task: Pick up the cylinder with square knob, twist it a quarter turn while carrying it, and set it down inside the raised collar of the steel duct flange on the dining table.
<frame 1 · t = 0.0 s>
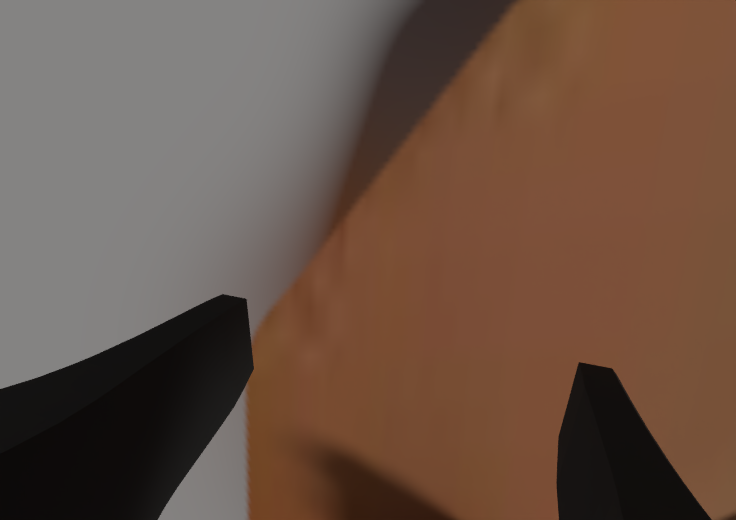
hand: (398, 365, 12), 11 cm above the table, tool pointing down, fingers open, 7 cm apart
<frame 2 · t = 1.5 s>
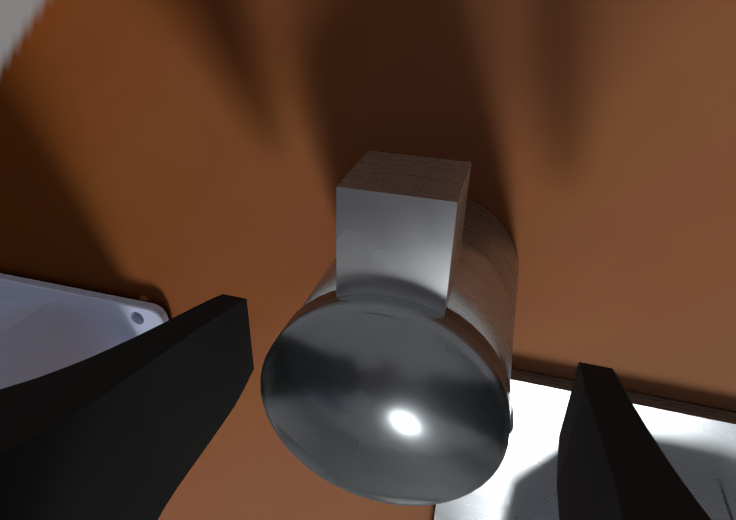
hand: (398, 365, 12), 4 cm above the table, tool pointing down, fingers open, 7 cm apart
cylinder with square knob: (431, 267, 16), on the table
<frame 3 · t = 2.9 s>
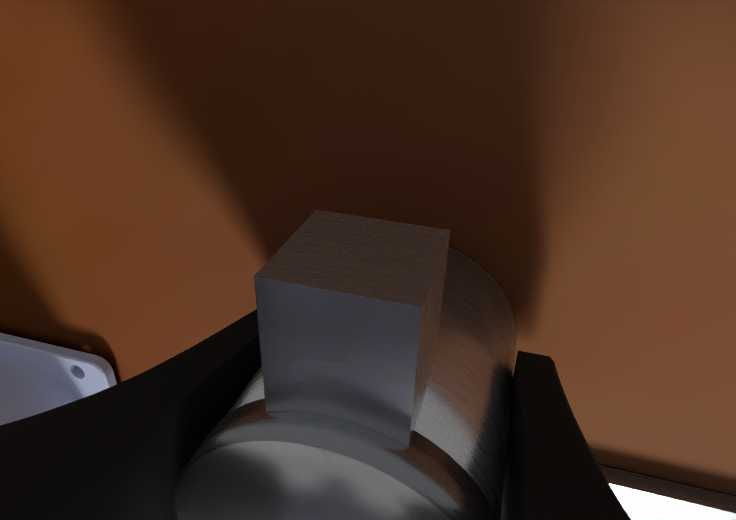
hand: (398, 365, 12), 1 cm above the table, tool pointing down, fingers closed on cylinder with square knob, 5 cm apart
cylinder with square knob: (412, 327, 13), on the table, touching gripper
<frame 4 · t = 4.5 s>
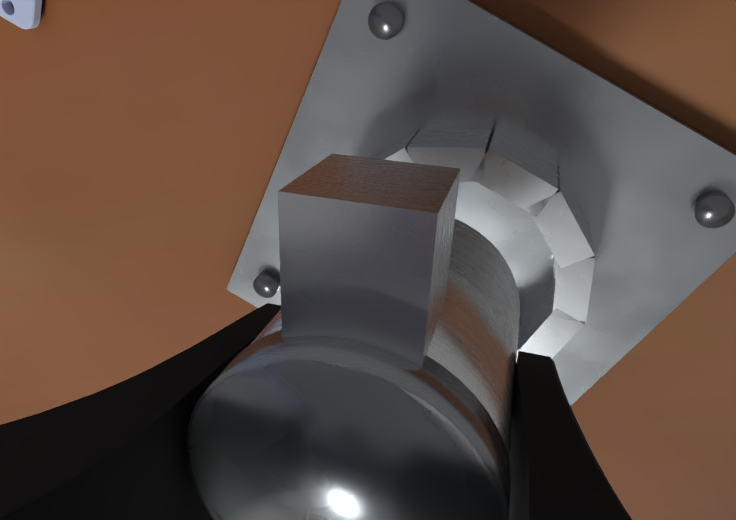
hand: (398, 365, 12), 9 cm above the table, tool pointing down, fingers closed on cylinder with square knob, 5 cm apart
duct flange: (457, 244, 19), on the table
cylinder with square knob: (417, 303, 13), point 7 cm above the table, touching gripper
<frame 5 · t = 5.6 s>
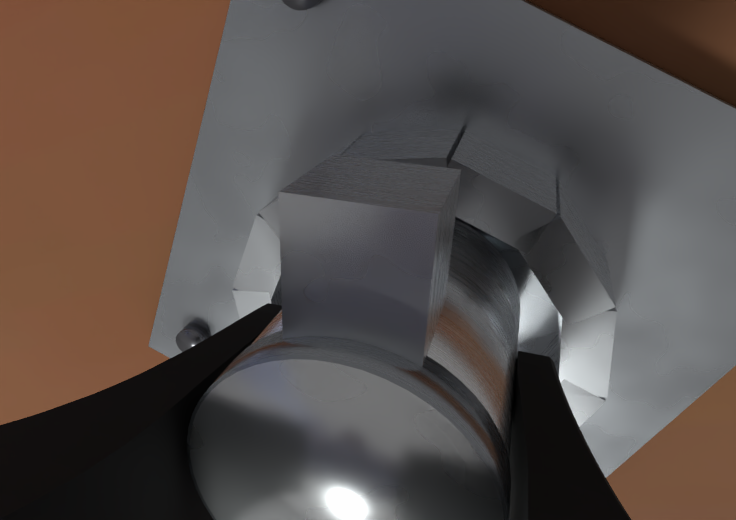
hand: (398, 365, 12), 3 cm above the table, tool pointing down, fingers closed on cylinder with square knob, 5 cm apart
duct flange: (428, 285, 15), on the table
cylinder with square knob: (417, 304, 13), point 1 cm above the table, touching gripper
when the fingers open (3 cm above the table, at t = 6.4 s): cylinder with square knob stays where it is, resting on duct flange.
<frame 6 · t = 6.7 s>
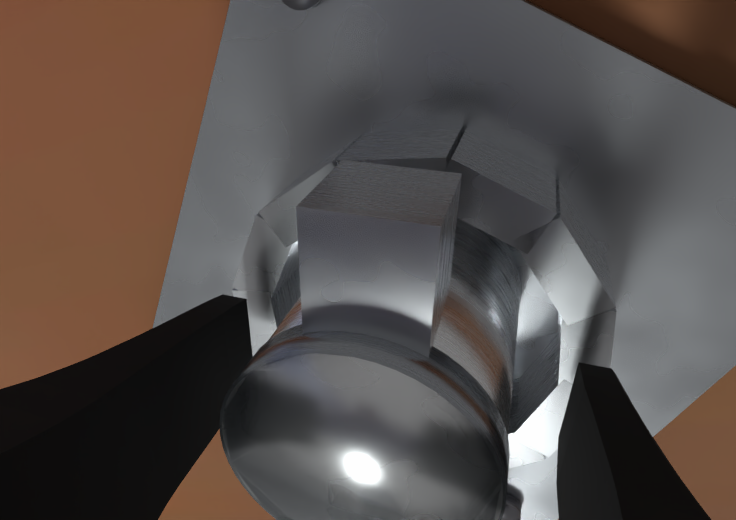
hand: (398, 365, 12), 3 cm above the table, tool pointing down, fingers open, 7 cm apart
duct flange: (428, 285, 15), on the table
cylinder with square knob: (424, 284, 14), point 1 cm above the table, touching duct flange
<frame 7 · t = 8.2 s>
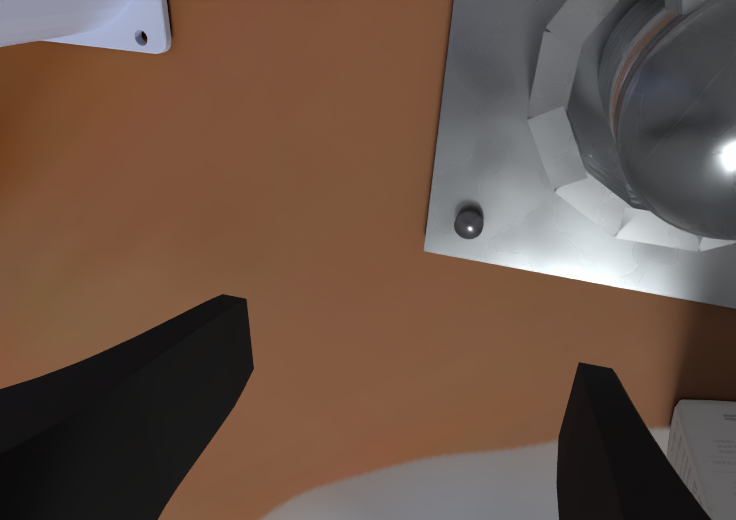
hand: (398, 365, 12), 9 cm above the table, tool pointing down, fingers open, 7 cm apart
skincare box: (729, 455, 22), on the table
duct flange: (688, 76, 16), on the table
cylinder with square knob: (690, 68, 15), point 1 cm above the table, touching duct flange
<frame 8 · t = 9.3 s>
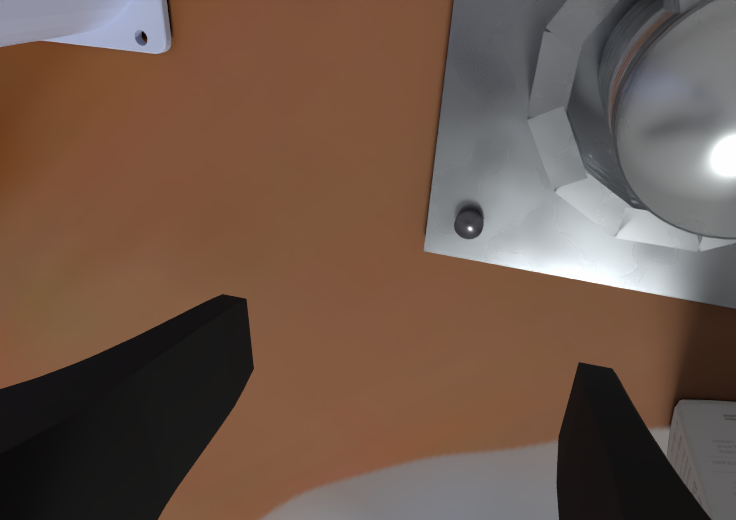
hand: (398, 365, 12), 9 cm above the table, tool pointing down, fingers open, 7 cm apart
skincare box: (729, 455, 22), on the table
duct flange: (688, 76, 16), on the table
cylinder with square knob: (690, 68, 15), point 1 cm above the table, touching duct flange
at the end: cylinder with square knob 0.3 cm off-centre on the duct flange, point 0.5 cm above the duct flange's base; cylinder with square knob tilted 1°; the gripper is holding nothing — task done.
